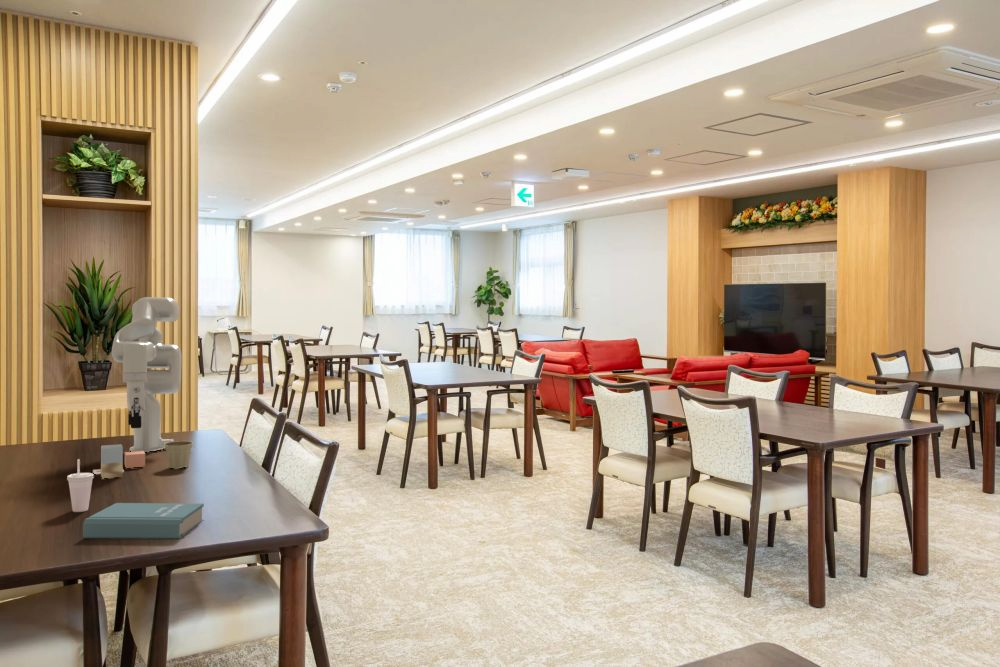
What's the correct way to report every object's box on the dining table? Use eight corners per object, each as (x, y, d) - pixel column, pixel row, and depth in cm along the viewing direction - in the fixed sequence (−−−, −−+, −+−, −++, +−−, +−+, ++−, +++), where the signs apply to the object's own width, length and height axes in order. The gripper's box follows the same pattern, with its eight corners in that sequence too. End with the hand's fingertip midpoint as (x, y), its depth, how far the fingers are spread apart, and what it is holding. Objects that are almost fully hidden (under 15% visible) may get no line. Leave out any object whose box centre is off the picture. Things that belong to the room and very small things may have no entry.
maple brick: (121, 473, 246) (121, 459, 246) (122, 477, 241) (122, 462, 241) (100, 475, 243) (100, 460, 243) (101, 479, 238) (101, 463, 238)
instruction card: (122, 468, 254) (122, 466, 254) (123, 472, 249) (124, 470, 248) (92, 470, 250) (92, 469, 250) (93, 474, 244) (93, 473, 244)
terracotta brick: (143, 464, 262) (143, 450, 262) (145, 467, 257) (145, 453, 257) (124, 466, 259) (124, 452, 259) (126, 469, 254) (126, 454, 254)
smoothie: (76, 506, 204) (76, 456, 204) (98, 507, 204) (98, 457, 203) (61, 513, 198) (61, 461, 197) (84, 513, 197) (85, 461, 197)
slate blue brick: (121, 459, 246) (121, 444, 246) (122, 462, 241) (122, 447, 241) (101, 460, 243) (101, 445, 243) (101, 463, 238) (102, 448, 238)
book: (203, 522, 193) (203, 503, 192) (178, 541, 176) (178, 520, 176) (116, 521, 192) (116, 503, 192) (83, 540, 176) (83, 520, 176)
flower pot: (168, 471, 250) (168, 446, 250) (160, 467, 257) (160, 442, 257) (196, 468, 256) (196, 443, 256) (187, 463, 264) (187, 440, 263)
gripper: (149, 378, 252) (149, 428, 252) (144, 375, 266) (144, 422, 266) (125, 379, 248) (124, 430, 248) (121, 376, 262) (120, 424, 263)
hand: (134, 426), depth 257 cm, fingers open, 9 cm apart
